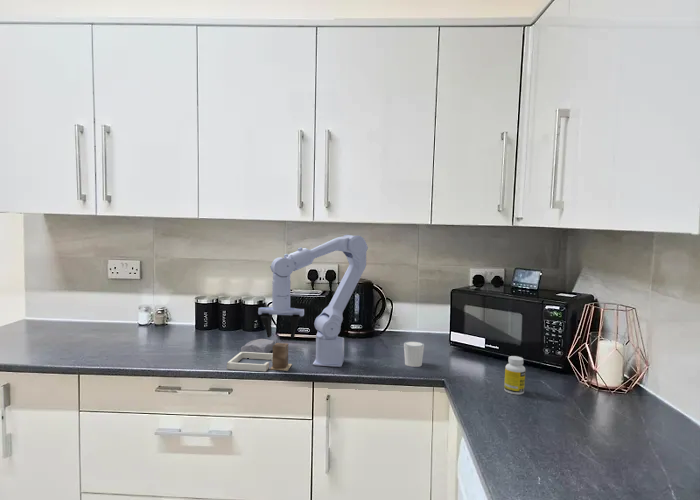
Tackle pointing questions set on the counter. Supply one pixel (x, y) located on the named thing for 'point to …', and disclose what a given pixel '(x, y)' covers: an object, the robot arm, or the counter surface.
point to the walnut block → (280, 355)
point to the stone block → (258, 346)
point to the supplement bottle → (514, 376)
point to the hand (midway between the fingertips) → (280, 337)
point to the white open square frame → (247, 366)
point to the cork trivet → (282, 368)
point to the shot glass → (413, 353)
